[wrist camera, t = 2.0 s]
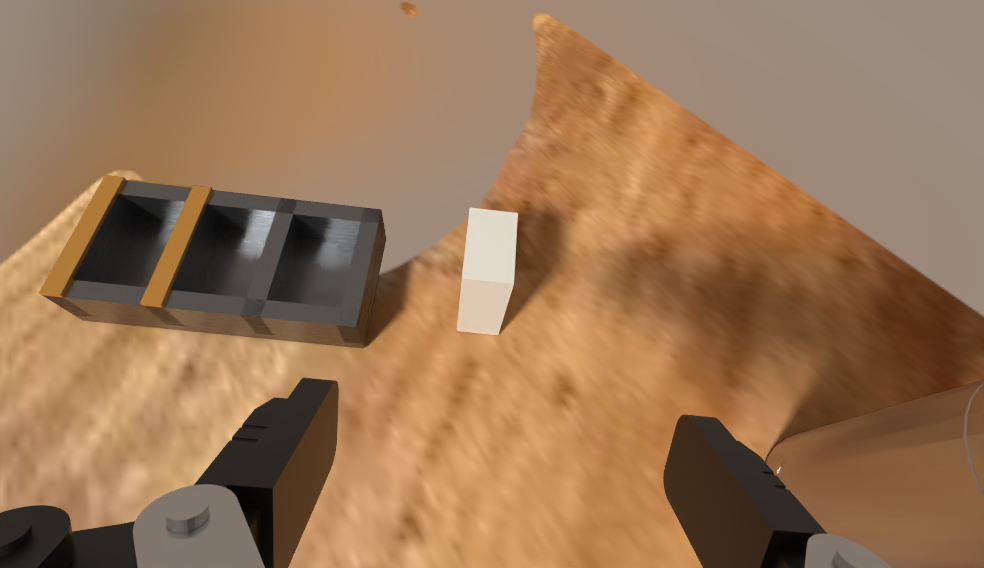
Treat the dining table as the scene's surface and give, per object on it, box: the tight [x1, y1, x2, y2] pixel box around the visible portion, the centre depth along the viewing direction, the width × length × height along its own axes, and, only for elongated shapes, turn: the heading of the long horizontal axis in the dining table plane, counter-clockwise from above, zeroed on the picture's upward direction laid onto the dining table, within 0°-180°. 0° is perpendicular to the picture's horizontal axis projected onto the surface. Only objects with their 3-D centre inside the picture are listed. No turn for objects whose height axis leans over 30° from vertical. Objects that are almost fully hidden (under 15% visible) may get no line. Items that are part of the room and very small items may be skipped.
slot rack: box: [39, 175, 386, 348], centre depth 34 cm, size 19×9×4 cm, turn 86°
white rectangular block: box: [457, 208, 518, 335], centre depth 33 cm, size 3×5×8 cm, turn 176°
